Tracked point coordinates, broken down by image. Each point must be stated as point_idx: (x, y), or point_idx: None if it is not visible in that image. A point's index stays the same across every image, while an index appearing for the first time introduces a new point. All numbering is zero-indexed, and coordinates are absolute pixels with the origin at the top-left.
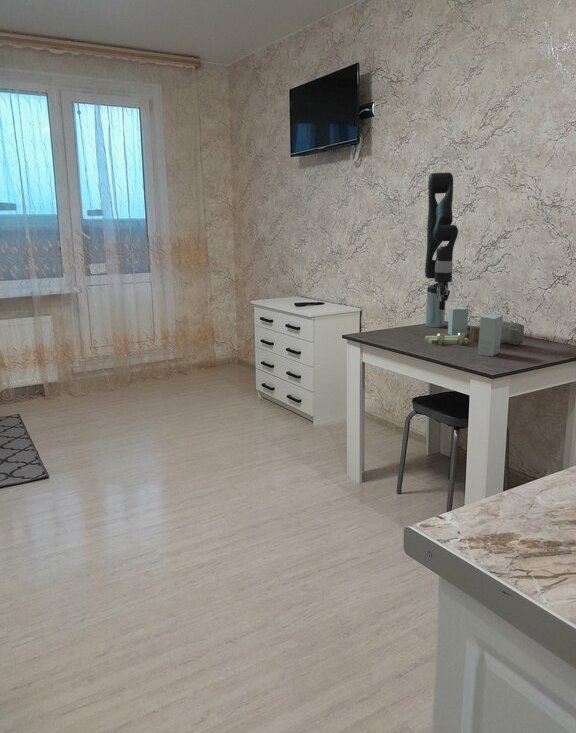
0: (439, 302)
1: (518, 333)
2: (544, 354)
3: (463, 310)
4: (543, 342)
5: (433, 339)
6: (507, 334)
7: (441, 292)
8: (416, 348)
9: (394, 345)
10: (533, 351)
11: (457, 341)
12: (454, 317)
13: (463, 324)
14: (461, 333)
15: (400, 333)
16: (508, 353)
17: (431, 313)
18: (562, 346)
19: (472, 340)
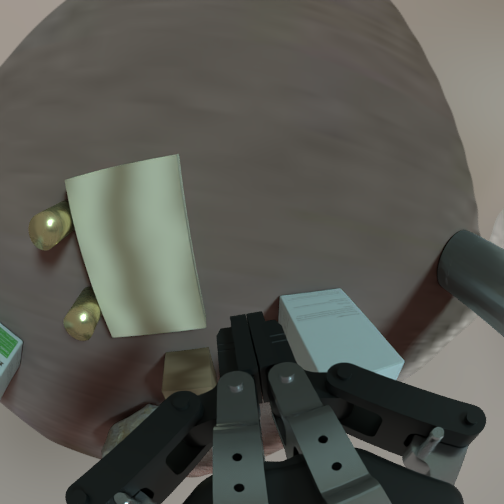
0: (259, 357)
1: (102, 448)
2: (52, 425)
3: None
4: None
5: (78, 188)
6: (118, 434)
7: (214, 488)
8: (12, 112)
9: (71, 21)
10: (71, 424)
11: (87, 293)
12: (306, 358)
13: None
14: (70, 325)
15: (361, 77)
16: (26, 378)
17: (483, 263)
18: None
19: (177, 352)
